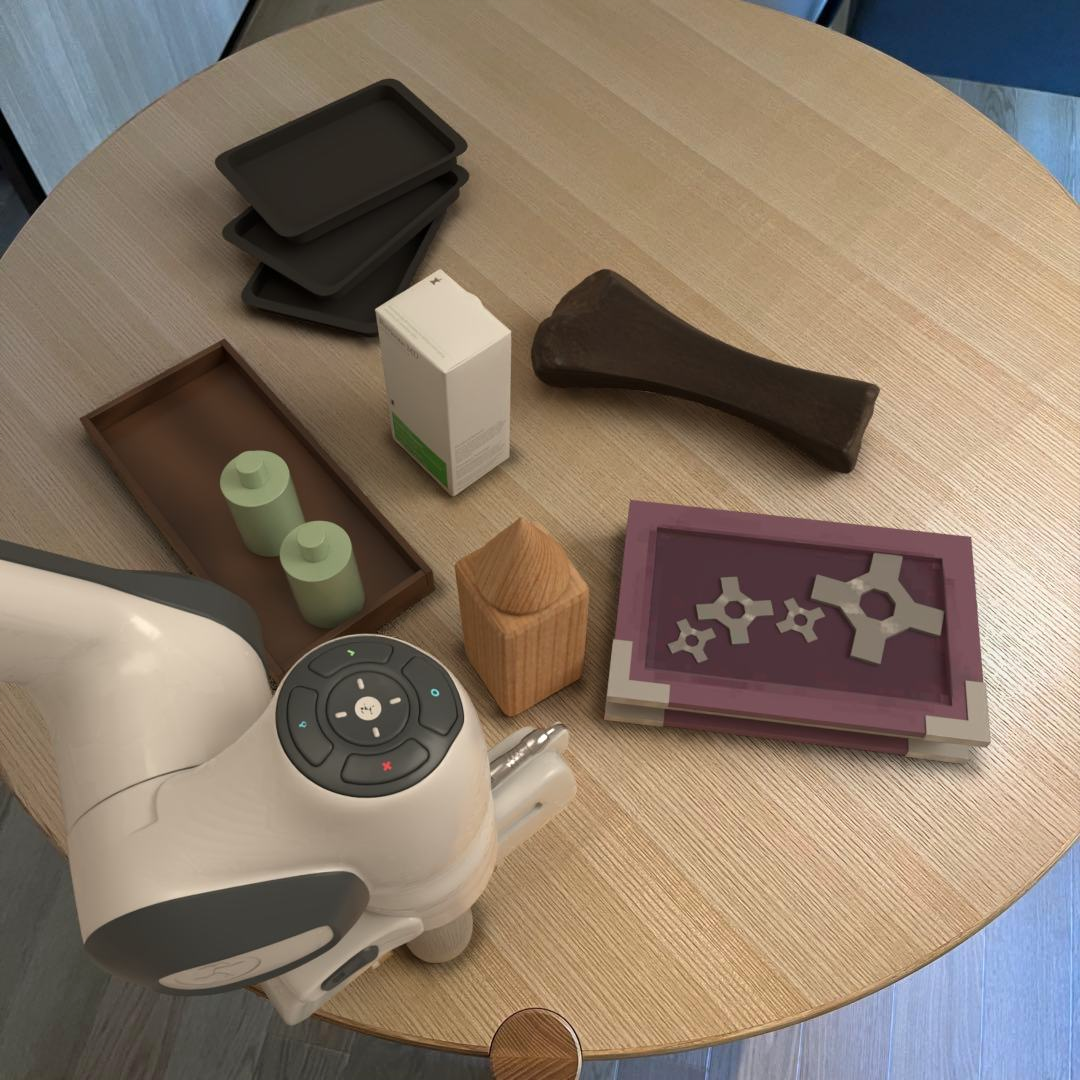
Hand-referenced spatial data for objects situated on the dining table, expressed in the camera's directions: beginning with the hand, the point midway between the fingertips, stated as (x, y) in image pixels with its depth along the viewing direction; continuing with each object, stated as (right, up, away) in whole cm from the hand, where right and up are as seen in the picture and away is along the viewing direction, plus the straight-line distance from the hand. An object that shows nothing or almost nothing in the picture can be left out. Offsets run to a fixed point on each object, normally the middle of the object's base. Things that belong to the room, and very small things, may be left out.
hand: (431, 905), depth 68 cm
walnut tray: (-16, +24, +22) cm, 36 cm away
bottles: (-12, +20, +18) cm, 29 cm away
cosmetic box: (-1, +30, +25) cm, 39 cm away
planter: (0, -3, +5) cm, 6 cm away
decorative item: (+5, +13, +15) cm, 20 cm away
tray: (-12, +52, +39) cm, 66 cm away
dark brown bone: (+20, +34, +28) cm, 48 cm away
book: (+25, +14, +15) cm, 32 cm away
